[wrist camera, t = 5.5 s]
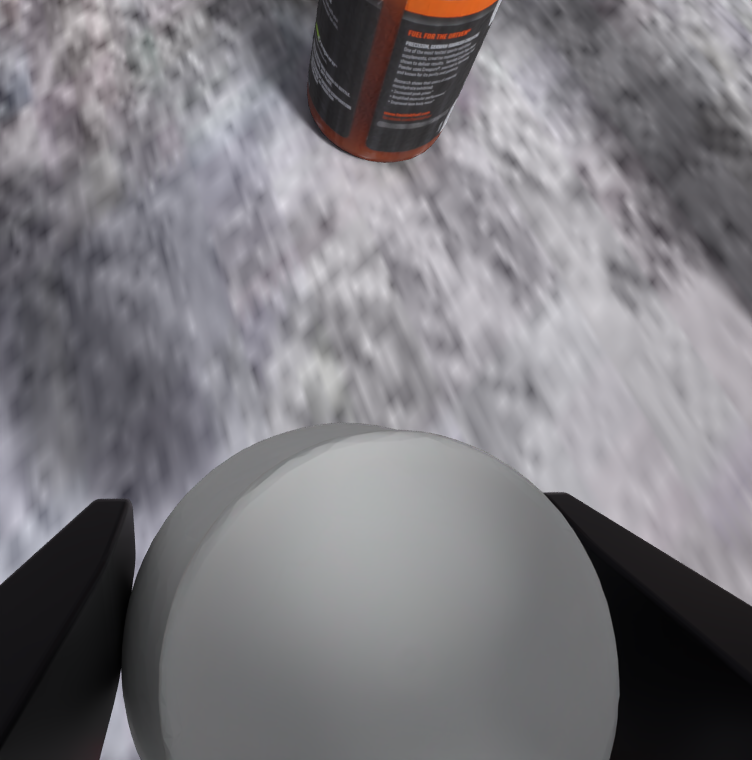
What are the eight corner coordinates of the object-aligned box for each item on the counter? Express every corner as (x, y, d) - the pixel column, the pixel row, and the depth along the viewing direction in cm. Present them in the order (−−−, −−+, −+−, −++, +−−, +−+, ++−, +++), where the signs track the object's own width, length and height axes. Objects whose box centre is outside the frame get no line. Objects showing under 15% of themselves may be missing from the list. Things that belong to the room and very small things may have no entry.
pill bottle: (147, 737, 13) (-49, 1092, 4) (195, 475, 15) (137, 301, 6) (403, 752, 14) (725, 1068, 5) (420, 504, 16) (682, 394, 7)
